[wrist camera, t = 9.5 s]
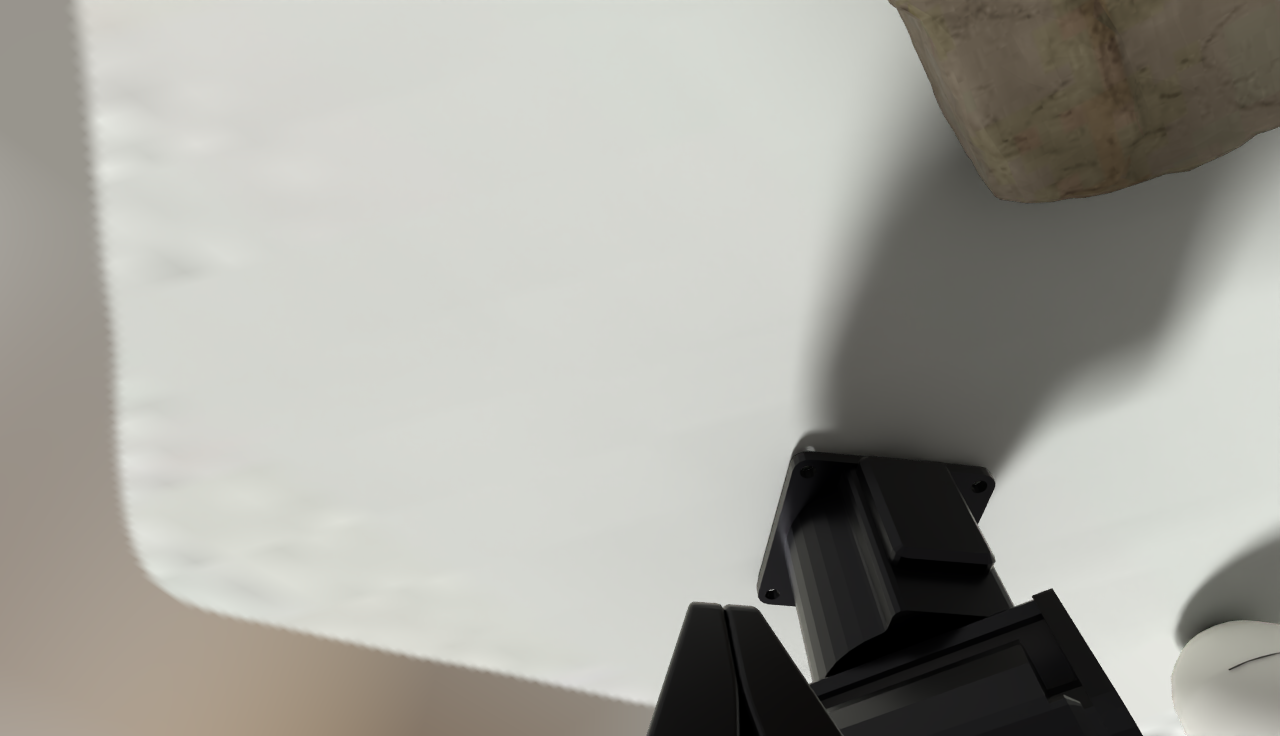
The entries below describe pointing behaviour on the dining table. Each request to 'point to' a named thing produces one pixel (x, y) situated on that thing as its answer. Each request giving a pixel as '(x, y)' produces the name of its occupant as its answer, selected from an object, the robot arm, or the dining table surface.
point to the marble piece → (1097, 86)
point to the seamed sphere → (1229, 681)
